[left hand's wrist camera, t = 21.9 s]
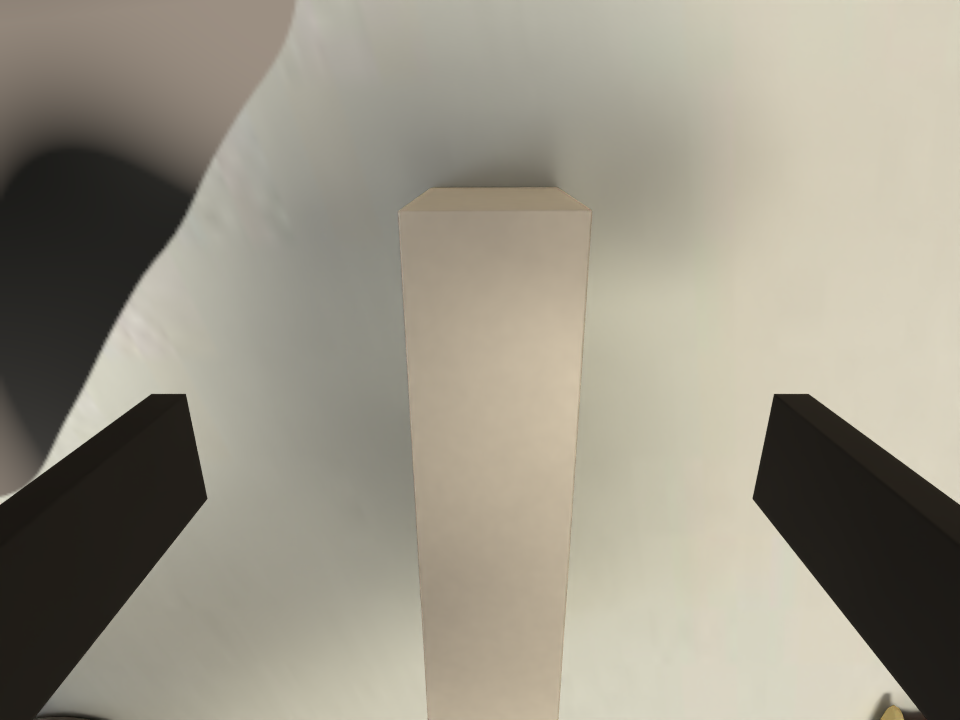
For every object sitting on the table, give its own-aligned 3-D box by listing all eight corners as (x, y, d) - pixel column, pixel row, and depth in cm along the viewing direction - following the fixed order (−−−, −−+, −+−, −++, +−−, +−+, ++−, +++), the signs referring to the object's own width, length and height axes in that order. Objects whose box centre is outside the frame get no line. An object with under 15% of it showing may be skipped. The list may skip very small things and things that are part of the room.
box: (430, 187, 25) (397, 210, 16) (558, 186, 25) (592, 209, 16) (446, 627, 35) (431, 785, 26) (538, 628, 35) (554, 787, 26)
